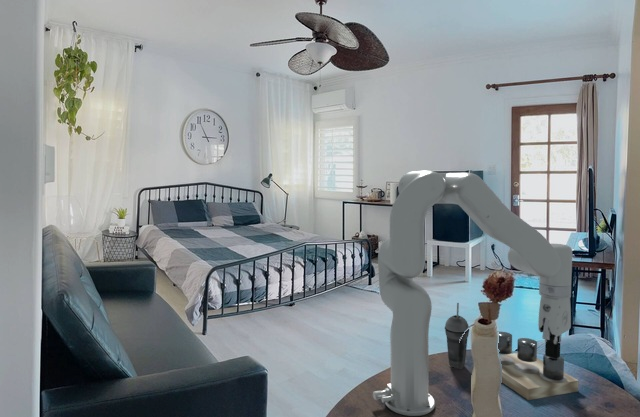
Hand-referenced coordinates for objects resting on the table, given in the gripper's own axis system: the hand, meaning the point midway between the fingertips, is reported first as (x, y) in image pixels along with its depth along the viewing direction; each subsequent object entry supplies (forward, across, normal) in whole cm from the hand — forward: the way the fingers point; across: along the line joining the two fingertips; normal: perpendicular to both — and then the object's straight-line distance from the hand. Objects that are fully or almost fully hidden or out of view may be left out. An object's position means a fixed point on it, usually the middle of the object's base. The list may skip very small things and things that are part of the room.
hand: (552, 356), depth 118 cm
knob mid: (+4, 0, +7) cm, 8 cm away
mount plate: (+9, 0, +7) cm, 11 cm away
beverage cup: (+9, -6, +25) cm, 28 cm away
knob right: (+6, 0, 0) cm, 6 cm away
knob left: (+4, 0, +14) cm, 15 cm away
